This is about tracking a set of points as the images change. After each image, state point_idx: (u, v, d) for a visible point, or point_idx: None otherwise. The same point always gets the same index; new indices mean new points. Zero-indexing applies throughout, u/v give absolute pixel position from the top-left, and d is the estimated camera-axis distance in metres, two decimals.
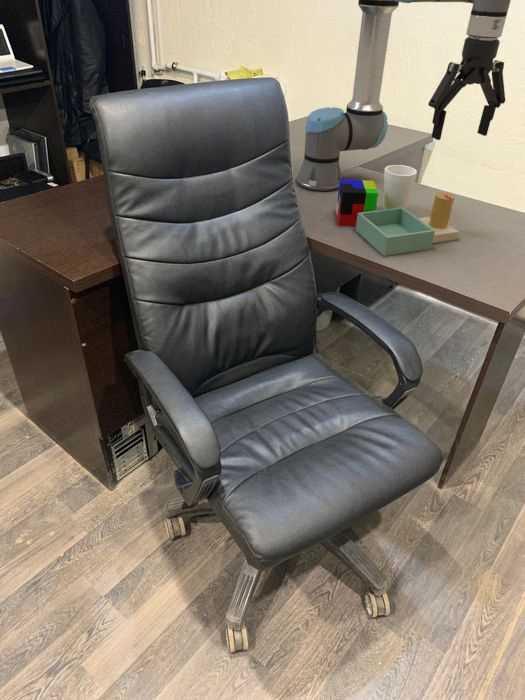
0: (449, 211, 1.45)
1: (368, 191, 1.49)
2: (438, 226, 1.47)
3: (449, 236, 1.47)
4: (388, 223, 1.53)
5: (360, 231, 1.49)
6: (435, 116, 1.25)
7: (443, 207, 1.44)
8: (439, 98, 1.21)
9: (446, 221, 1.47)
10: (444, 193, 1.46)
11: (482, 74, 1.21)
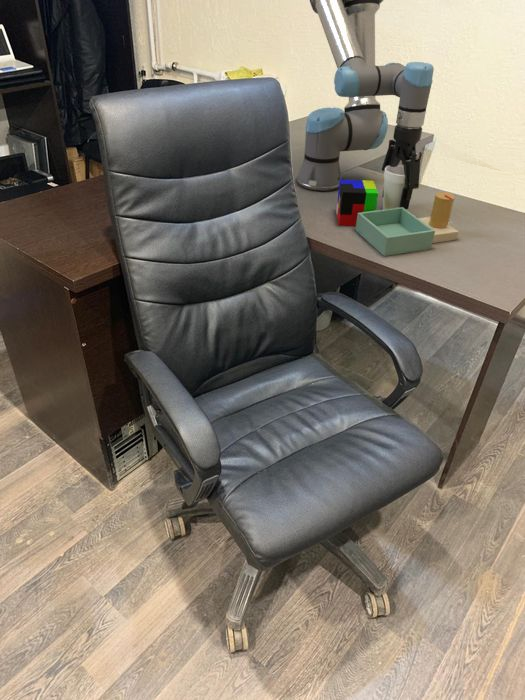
0: (449, 211, 1.45)
1: (367, 191, 1.49)
2: (438, 226, 1.47)
3: (449, 236, 1.47)
4: (388, 223, 1.53)
5: (360, 231, 1.49)
6: None
7: (443, 207, 1.44)
8: (383, 163, 1.60)
9: (446, 221, 1.47)
10: (444, 193, 1.46)
11: None
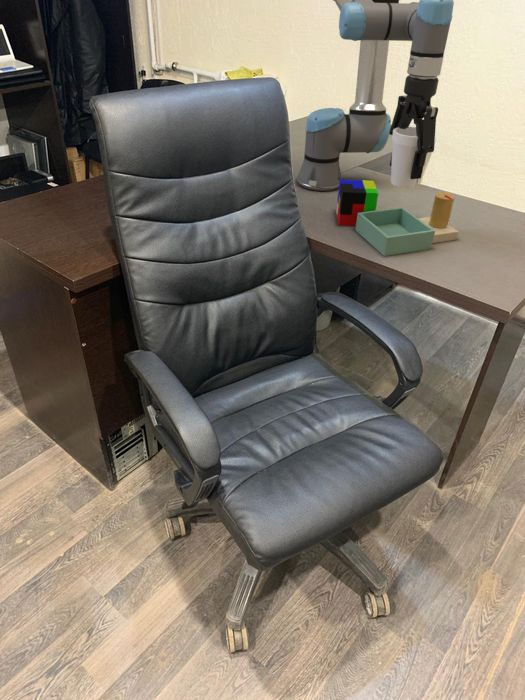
0: (449, 211, 1.45)
1: (367, 191, 1.49)
2: (438, 226, 1.47)
3: (449, 236, 1.47)
4: (388, 223, 1.53)
5: (360, 231, 1.49)
6: None
7: (443, 207, 1.44)
8: (391, 126, 1.36)
9: (446, 221, 1.47)
10: (444, 193, 1.46)
11: None
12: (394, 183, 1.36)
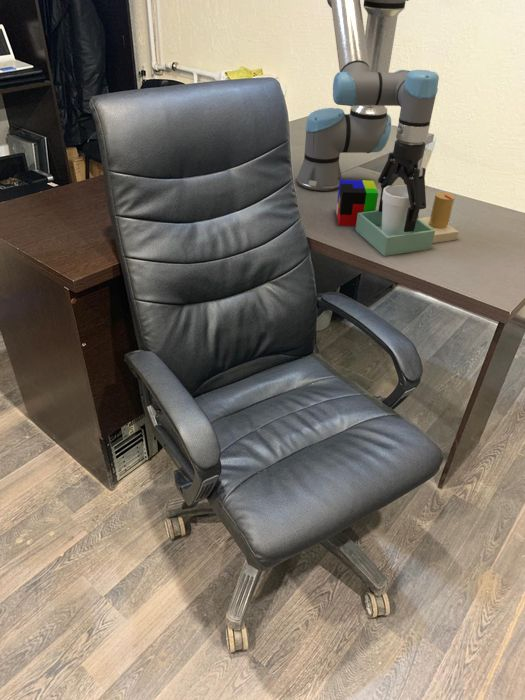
0: (449, 211, 1.45)
1: (367, 191, 1.49)
2: (438, 226, 1.47)
3: (449, 236, 1.47)
4: None
5: (360, 231, 1.49)
6: None
7: (443, 207, 1.44)
8: (380, 175, 1.45)
9: (446, 221, 1.47)
10: (444, 193, 1.46)
11: None
12: None
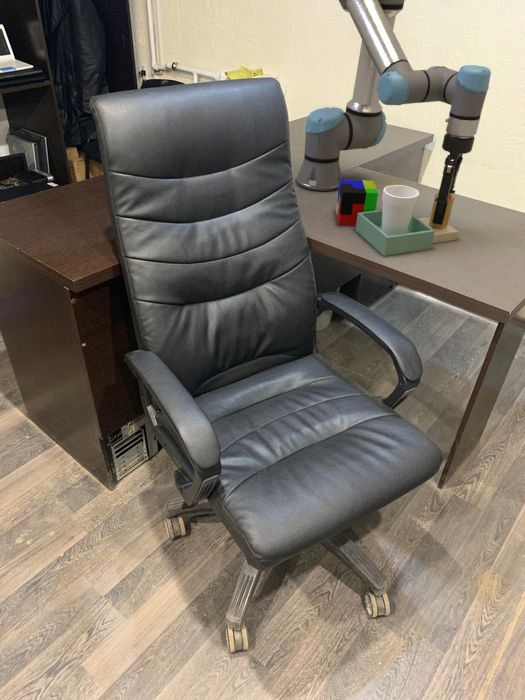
0: (449, 211, 1.45)
1: (367, 191, 1.49)
2: (438, 226, 1.47)
3: (449, 236, 1.47)
4: None
5: (360, 231, 1.49)
6: None
7: None
8: None
9: (446, 221, 1.47)
10: None
11: None
12: None
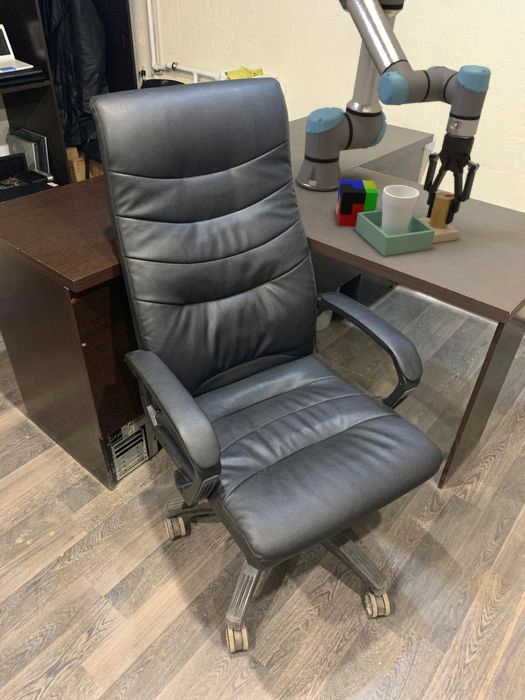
0: None
1: (367, 191, 1.49)
2: (447, 225, 1.48)
3: (449, 236, 1.47)
4: None
5: (360, 231, 1.49)
6: None
7: None
8: (425, 182, 1.45)
9: None
10: (439, 194, 1.45)
11: None
12: None
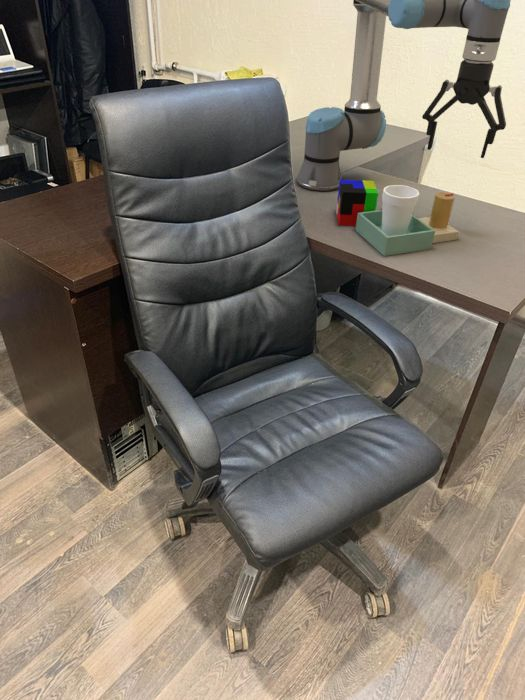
0: None
1: (367, 191, 1.49)
2: (447, 223, 1.49)
3: (449, 236, 1.47)
4: None
5: (360, 231, 1.49)
6: (428, 127, 1.37)
7: (452, 204, 1.45)
8: (427, 110, 1.34)
9: None
10: (439, 195, 1.45)
11: (473, 95, 1.27)
12: None
